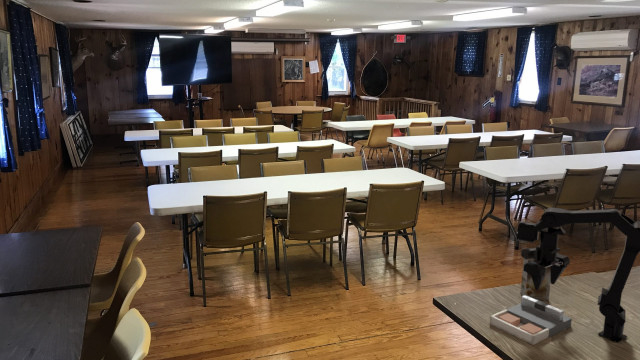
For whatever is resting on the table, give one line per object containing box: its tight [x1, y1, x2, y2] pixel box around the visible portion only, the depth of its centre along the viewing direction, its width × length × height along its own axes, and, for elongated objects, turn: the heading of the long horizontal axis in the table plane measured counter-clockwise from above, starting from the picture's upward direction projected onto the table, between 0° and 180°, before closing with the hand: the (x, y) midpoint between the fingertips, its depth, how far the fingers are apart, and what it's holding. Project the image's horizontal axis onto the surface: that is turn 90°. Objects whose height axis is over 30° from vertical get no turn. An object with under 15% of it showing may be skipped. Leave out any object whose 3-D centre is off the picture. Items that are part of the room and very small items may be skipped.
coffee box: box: [520, 258, 551, 301], centre depth 196 cm, size 9×6×16 cm
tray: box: [489, 309, 550, 346], centre depth 171 cm, size 8×17×3 cm, turn 33°
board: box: [505, 303, 573, 338], centre depth 177 cm, size 13×17×3 cm
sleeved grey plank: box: [520, 295, 565, 322], centre depth 177 cm, size 2×15×4 cm, turn 34°
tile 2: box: [520, 323, 542, 335], centre depth 168 cm, size 5×5×2 cm
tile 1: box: [499, 313, 520, 326], centre depth 175 cm, size 5×5×2 cm
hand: (544, 287), depth 175 cm, fingers open, 9 cm apart
